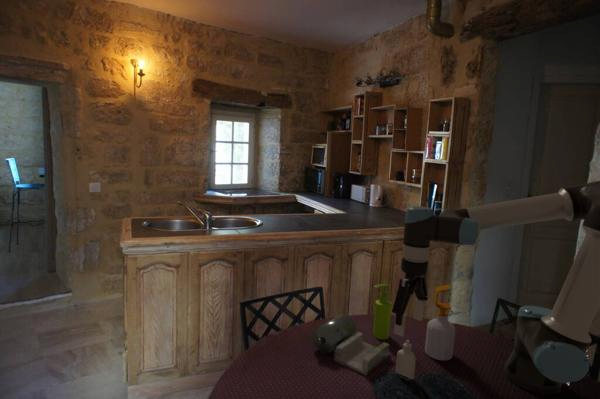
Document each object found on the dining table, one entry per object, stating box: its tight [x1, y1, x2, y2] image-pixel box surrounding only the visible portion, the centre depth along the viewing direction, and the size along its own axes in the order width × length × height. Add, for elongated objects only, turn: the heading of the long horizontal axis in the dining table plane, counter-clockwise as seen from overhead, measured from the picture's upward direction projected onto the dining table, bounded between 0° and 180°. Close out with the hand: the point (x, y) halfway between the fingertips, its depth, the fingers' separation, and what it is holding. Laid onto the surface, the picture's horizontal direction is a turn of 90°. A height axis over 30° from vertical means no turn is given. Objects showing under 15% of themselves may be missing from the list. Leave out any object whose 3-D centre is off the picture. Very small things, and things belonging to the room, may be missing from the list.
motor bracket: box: [311, 313, 391, 377], centre depth 125 cm, size 22×18×9 cm
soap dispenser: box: [372, 283, 393, 340], centre depth 138 cm, size 6×7×20 cm
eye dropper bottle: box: [395, 339, 417, 381], centre depth 113 cm, size 4×6×12 cm
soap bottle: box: [424, 284, 456, 361], centre depth 127 cm, size 9×9×25 cm
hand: (408, 326), depth 112 cm, fingers open, 13 cm apart
